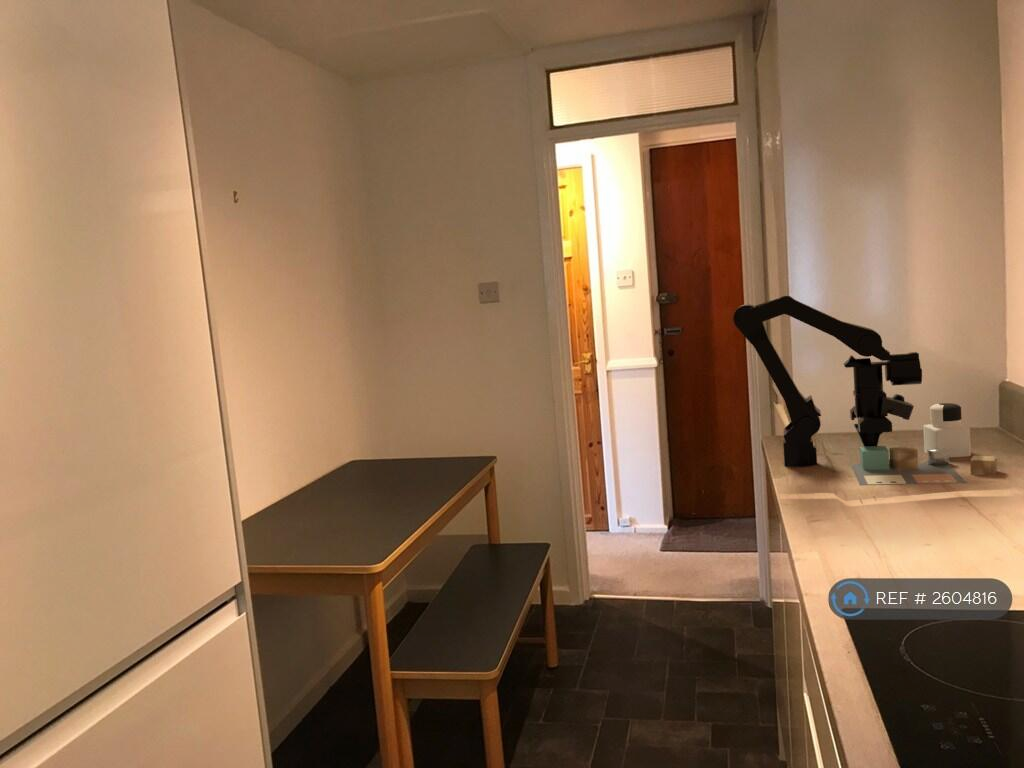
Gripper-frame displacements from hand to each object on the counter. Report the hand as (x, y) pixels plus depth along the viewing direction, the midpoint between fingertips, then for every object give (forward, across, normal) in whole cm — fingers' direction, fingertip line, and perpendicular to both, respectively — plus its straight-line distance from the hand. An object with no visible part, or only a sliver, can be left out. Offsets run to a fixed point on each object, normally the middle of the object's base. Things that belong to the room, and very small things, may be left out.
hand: (871, 457), depth 182 cm
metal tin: (+1, -3, -12) cm, 13 cm away
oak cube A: (+1, -6, -5) cm, 8 cm away
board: (+2, -11, -5) cm, 12 cm away
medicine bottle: (+2, +6, -16) cm, 17 cm away
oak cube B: (0, -11, -17) cm, 20 cm away
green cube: (+1, -5, 0) cm, 5 cm away
